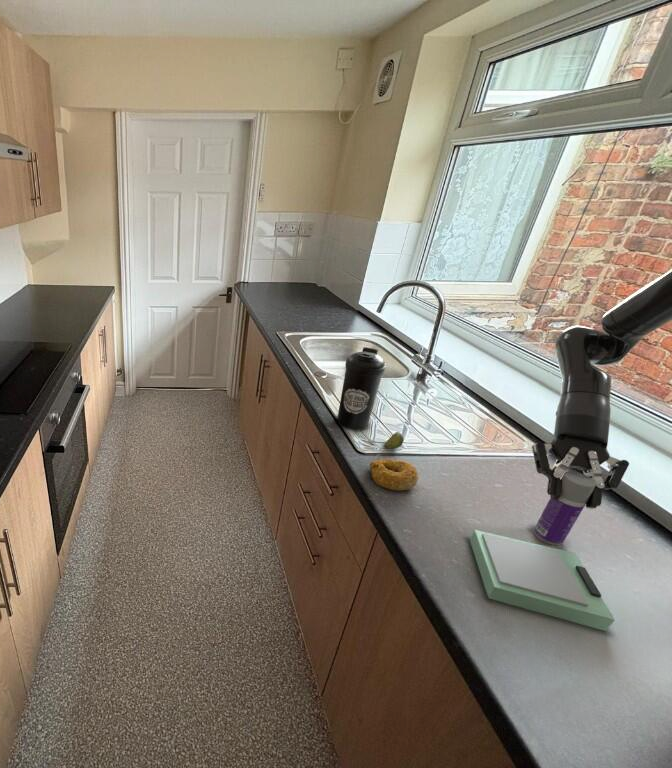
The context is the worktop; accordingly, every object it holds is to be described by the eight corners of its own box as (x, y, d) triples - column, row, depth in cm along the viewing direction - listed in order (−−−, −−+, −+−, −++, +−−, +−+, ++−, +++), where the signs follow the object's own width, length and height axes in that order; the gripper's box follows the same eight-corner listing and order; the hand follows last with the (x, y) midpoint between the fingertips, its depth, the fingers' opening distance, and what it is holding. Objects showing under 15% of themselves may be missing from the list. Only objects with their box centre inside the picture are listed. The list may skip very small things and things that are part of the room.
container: (562, 549, 82) (597, 490, 75) (532, 537, 85) (563, 479, 78) (563, 535, 85) (596, 478, 78) (534, 524, 88) (564, 467, 81)
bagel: (389, 462, 107) (394, 447, 105) (425, 489, 98) (431, 473, 96) (357, 469, 105) (361, 454, 103) (391, 498, 95) (396, 482, 93)
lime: (384, 450, 112) (388, 435, 110) (381, 441, 116) (385, 425, 114) (402, 453, 111) (407, 438, 108) (399, 443, 115) (403, 428, 112)
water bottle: (330, 424, 124) (344, 353, 113) (338, 410, 131) (353, 342, 121) (366, 435, 119) (385, 361, 108) (373, 419, 126) (391, 349, 116)
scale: (568, 564, 79) (577, 551, 77) (606, 631, 67) (616, 617, 66) (469, 540, 84) (475, 527, 83) (488, 598, 73) (495, 584, 71)
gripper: (544, 405, 83) (533, 488, 79) (644, 423, 76) (637, 514, 72) (528, 416, 89) (517, 493, 85) (619, 433, 83) (612, 517, 79)
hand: (573, 502), depth 79 cm, fingers closed on container, 4 cm apart
